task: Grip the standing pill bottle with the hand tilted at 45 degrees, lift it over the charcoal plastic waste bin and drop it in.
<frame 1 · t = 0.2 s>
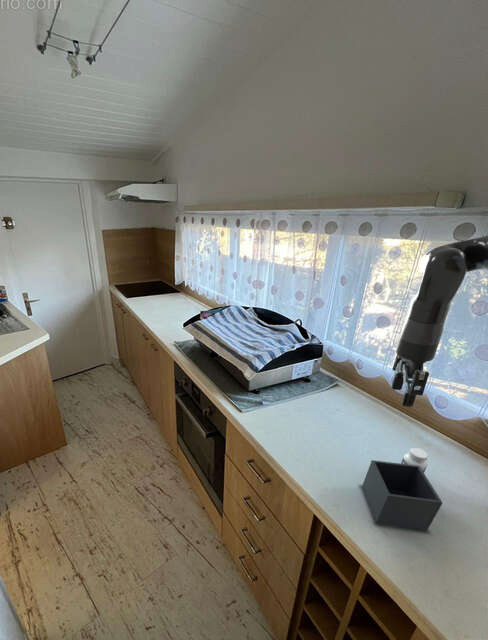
hand: (401, 397, 79), 25 cm above the worktop, tool pointing down, fingers open, 8 cm apart
pill bottle: (407, 478, 87), on the worktop
waste bin: (391, 507, 78), on the worktop
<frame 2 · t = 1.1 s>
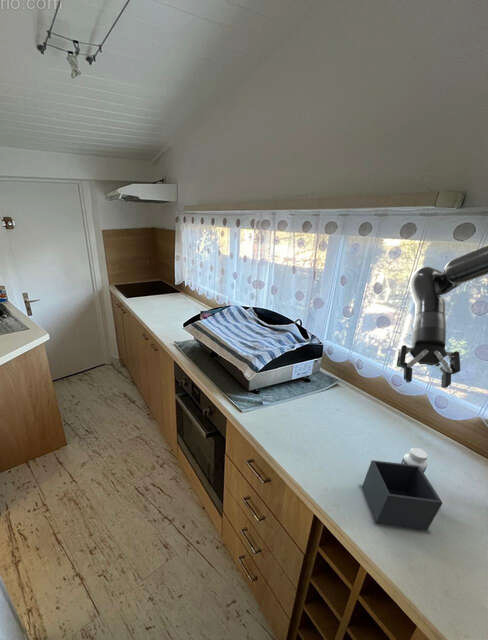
hand: (426, 384, 84), 25 cm above the worktop, tool tilted 45°, fingers open, 8 cm apart
nothing on the worktop moved.
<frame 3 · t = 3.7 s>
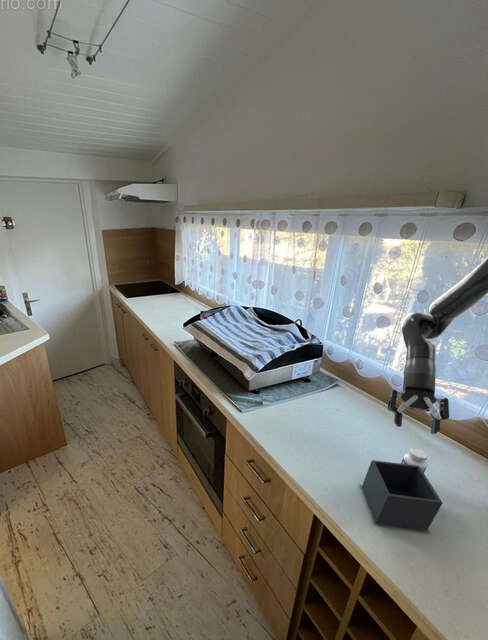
hand: (416, 429, 86), 12 cm above the worktop, tool tilted 45°, fingers open, 8 cm apart
nothing on the worktop moved.
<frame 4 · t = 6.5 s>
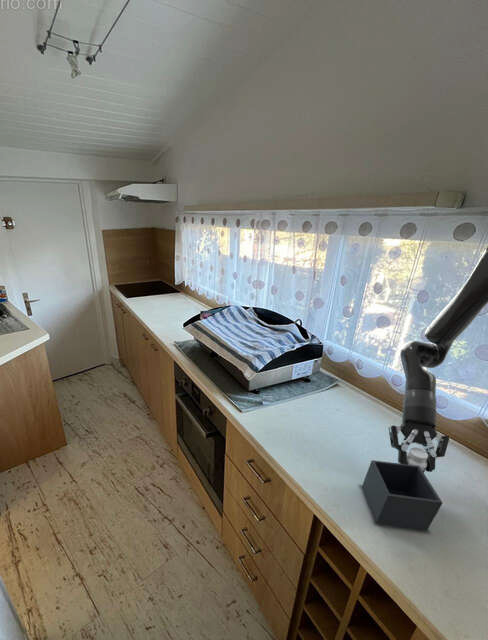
hand: (415, 468, 83), 6 cm above the worktop, tool tilted 45°, fingers closed on pill bottle, 5 cm apart
pill bottle: (407, 478, 87), on the worktop, touching gripper
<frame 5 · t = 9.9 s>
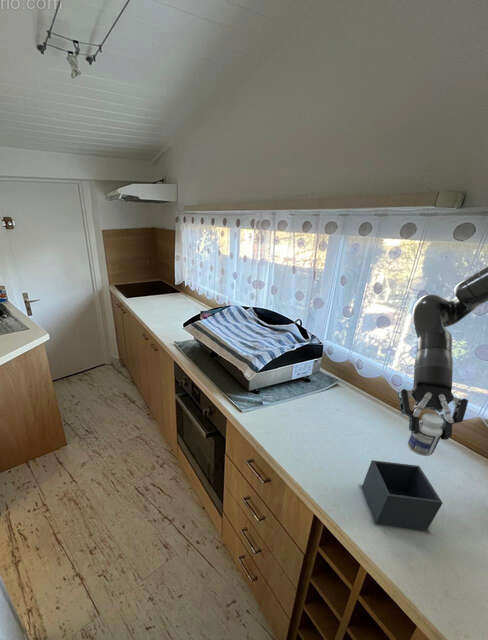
hand: (429, 436, 73), 20 cm above the worktop, tool tilted 45°, fingers closed on pill bottle, 5 cm apart
pill bottle: (419, 449, 77), point 14 cm above the worktop, touching gripper
when the fingers open (13 cm above the worktop, at t = 13.5 s): pill bottle drops 6 cm, resting on waste bin.
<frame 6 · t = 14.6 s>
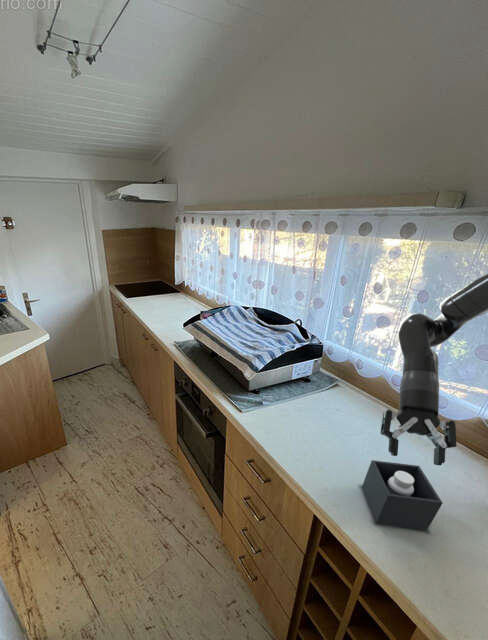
hand: (415, 460, 70), 17 cm above the worktop, tool tilted 45°, fingers open, 8 cm apart
pill bottle: (392, 504, 78), point 1 cm above the worktop, touching waste bin
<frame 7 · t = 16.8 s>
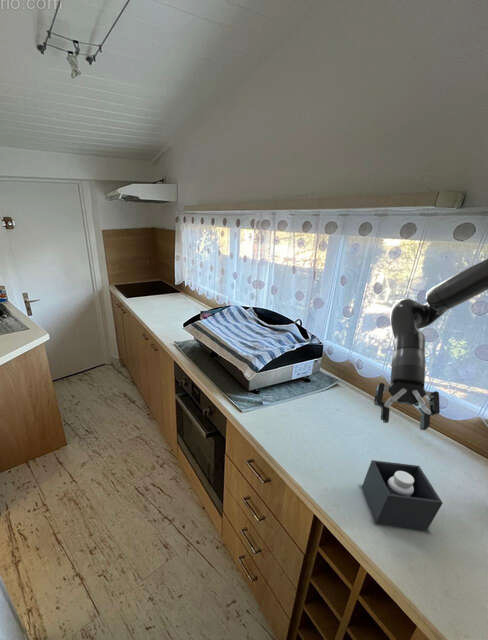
hand: (404, 426, 80), 18 cm above the worktop, tool tilted 45°, fingers open, 8 cm apart
nothing on the worktop moved.
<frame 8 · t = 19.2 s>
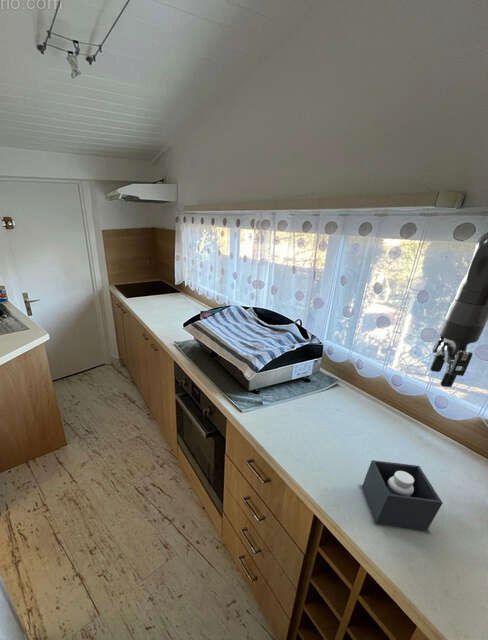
hand: (439, 378, 81), 28 cm above the worktop, tool pointing down, fingers open, 8 cm apart
nothing on the worktop moved.
at the end: pill bottle inside the target area in the waste bin (0.2 cm from its centre), point 0.8 cm above the waste bin's base; the gripper is holding nothing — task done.
